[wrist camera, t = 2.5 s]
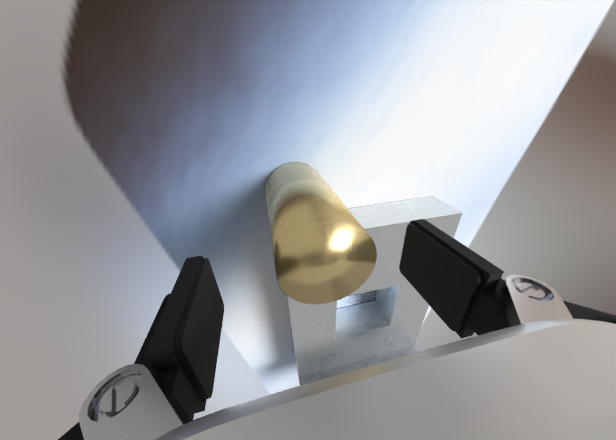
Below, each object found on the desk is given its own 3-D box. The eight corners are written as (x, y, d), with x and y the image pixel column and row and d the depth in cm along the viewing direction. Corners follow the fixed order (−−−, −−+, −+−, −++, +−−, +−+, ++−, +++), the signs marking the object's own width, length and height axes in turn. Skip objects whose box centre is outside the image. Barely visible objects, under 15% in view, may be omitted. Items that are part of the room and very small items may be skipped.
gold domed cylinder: (261, 165, 14) (269, 233, 7) (322, 159, 14) (383, 216, 8) (269, 219, 16) (282, 312, 9) (322, 211, 16) (370, 293, 10)
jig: (276, 218, 16) (286, 270, 11) (432, 196, 18) (495, 231, 13) (294, 353, 25) (304, 412, 20) (396, 327, 27) (426, 375, 23)
